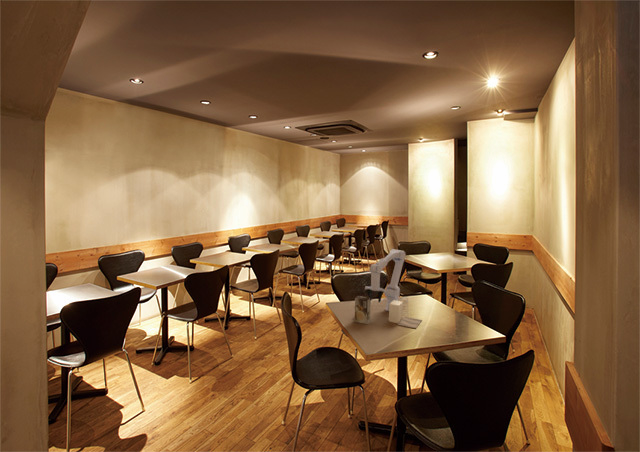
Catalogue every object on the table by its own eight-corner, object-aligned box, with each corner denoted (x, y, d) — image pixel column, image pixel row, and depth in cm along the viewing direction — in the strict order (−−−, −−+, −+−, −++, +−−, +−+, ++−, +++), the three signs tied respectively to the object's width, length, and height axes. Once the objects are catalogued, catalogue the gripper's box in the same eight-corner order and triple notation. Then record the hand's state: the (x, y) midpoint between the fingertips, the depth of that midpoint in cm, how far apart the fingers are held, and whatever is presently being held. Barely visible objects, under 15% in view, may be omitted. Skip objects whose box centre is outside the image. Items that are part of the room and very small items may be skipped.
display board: (404, 317, 228) (404, 316, 228) (421, 320, 222) (421, 320, 222) (397, 325, 214) (397, 324, 214) (415, 329, 208) (415, 328, 208)
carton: (393, 317, 228) (393, 300, 227) (402, 319, 225) (403, 301, 224) (388, 321, 221) (389, 303, 219) (398, 323, 217) (399, 305, 216)
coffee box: (370, 321, 221) (371, 297, 219) (367, 324, 215) (367, 300, 213) (357, 318, 225) (358, 295, 223) (354, 321, 219) (354, 297, 218)
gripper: (363, 281, 228) (362, 300, 230) (383, 284, 221) (383, 304, 222) (367, 279, 234) (366, 298, 236) (387, 282, 227) (386, 301, 228)
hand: (374, 301), depth 229 cm, fingers open, 6 cm apart
